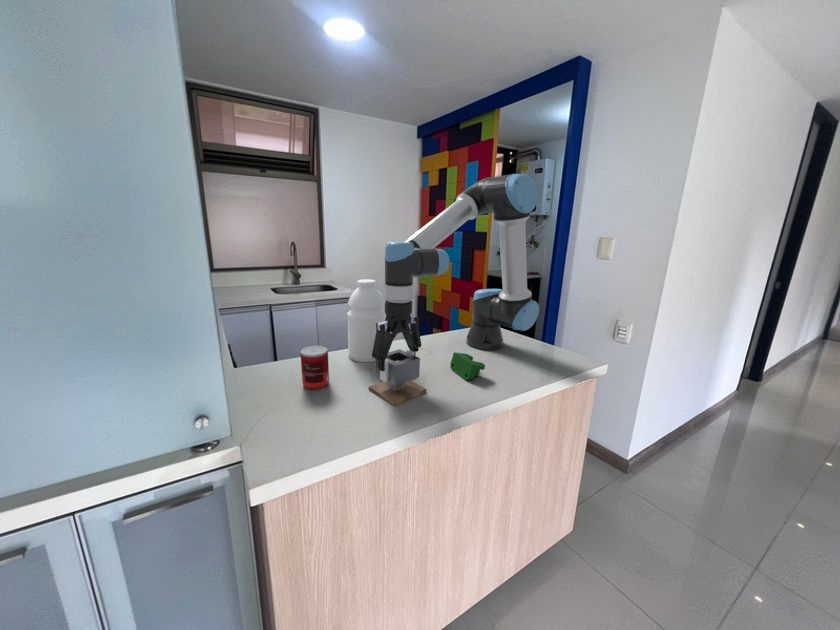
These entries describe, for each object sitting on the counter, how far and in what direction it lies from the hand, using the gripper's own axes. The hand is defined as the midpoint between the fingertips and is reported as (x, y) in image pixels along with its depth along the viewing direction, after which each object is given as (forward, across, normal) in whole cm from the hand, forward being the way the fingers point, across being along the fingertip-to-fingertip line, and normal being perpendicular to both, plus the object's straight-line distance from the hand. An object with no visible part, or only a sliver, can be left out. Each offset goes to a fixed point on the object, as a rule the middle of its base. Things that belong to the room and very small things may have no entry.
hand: (397, 375), depth 97 cm
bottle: (+5, -9, -28) cm, 30 cm away
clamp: (+5, -26, +6) cm, 27 cm away
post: (+5, 0, 0) cm, 5 cm away
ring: (0, 0, 0) cm, 0 cm away
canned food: (+5, +16, -19) cm, 25 cm away
